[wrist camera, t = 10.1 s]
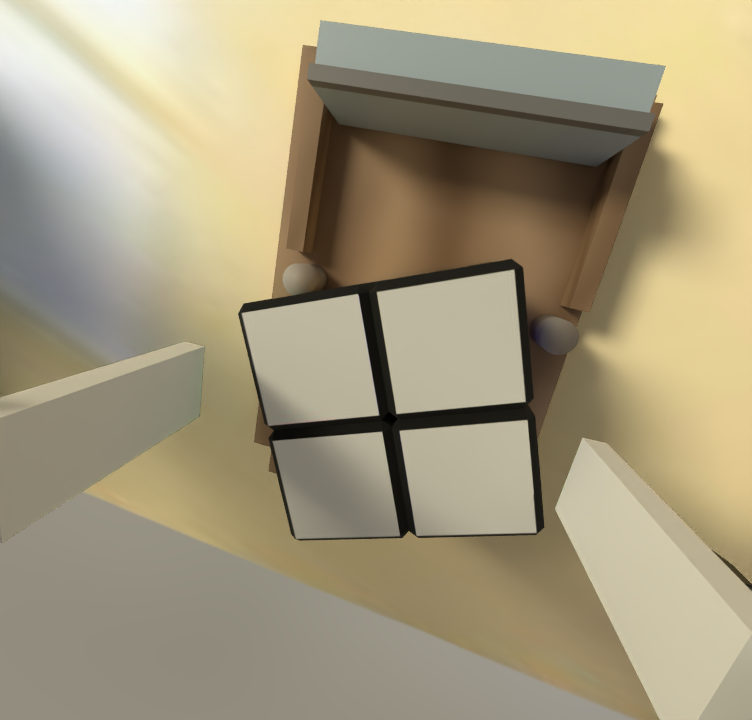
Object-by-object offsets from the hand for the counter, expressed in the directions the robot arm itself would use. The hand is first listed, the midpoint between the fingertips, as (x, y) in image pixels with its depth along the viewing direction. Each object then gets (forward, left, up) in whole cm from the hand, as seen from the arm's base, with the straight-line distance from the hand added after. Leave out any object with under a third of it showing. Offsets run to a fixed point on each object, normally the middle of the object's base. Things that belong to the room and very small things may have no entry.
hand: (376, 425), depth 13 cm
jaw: (0, +13, -10) cm, 17 cm away
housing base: (0, +3, -12) cm, 12 cm away
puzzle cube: (0, 0, -11) cm, 11 cm away
